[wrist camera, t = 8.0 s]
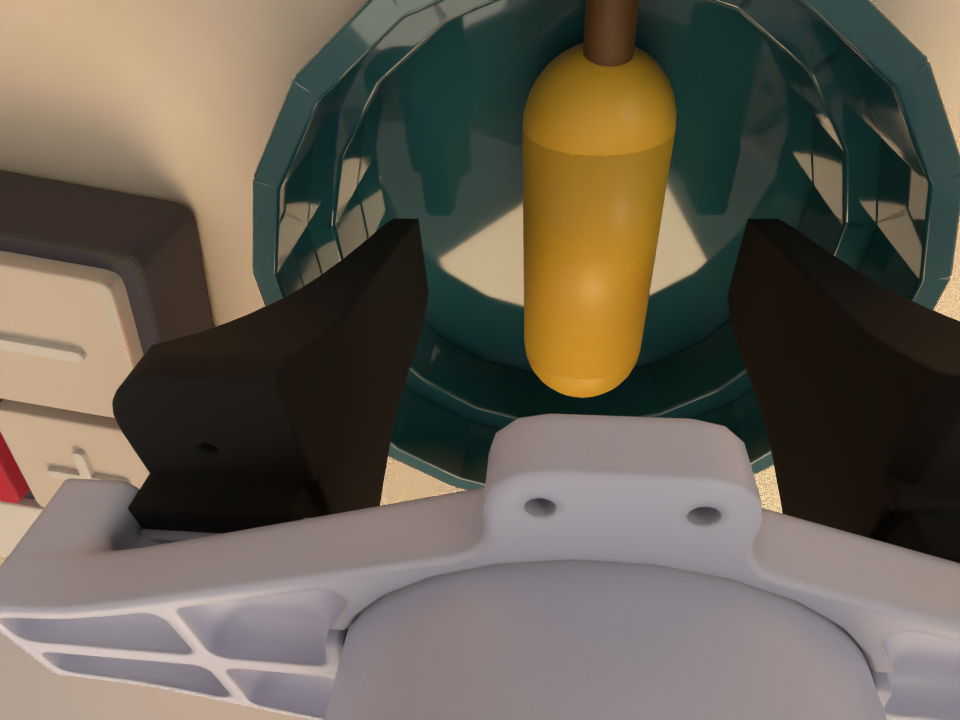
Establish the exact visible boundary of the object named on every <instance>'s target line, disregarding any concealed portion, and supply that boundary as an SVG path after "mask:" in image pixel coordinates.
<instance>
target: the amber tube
mask: <svg viewBox="0 0 960 720" xmlns="http://www.w3.org/2000/svg"><path fill="white" fill-rule="evenodd" d="M638 7H639V0H586V5H585V24H584V42H583V43H581V44H578V45H576V46H574V47H572V48H570V49H568V50H566V51H564V52H562V53H561V54H559V55H558V56H557V57H556V58H555V59H554V60H552V61H551V62H550V63H549V64H548V65H547V66H546V67H545V69H544V70H543V71H542V72H541V74H540V75H539V76H538V77H537V79H536V80H535V82H534V84H533V86H532V88H531V90H530V92H529V95H528V99H527V102H526V106H525V109H524V114H523V125H522V130H523V246H524V344H525V349H526V356H527V358H528V361H529V363H530V365H531V367H532V370H533V371H534V372H535V374H536V375H537V376H538V377H539V378H540V380H541V381H542V382H543V383H544V384H546V385H547V386H548V387H550V388H552V389H553V390H555V391H557V392H559V393H561V394H564V395H567V396H572V397H580V398H585V397H593V396H598V395H601V394H603V393H606V392H608V391H611V390H612V389H614V388H615V387H617V386H618V385H619V384H620V383H622V382H623V381H624V380H625V379H626V378H627V377H628V376H629V374H630V372H631V371H632V369H633V368H634V366H635V364H636V363H637V359H638V356H639V353H640V349H641V343H642V337H643V331H644V324H645V318H646V312H647V306H648V299H649V293H650V287H651V281H652V274H653V268H654V262H655V255H656V249H657V243H658V237H659V230H660V224H661V218H662V212H663V205H664V199H665V193H666V187H667V180H668V174H669V168H670V161H671V155H672V149H673V143H674V136H675V130H676V117H677V110H676V104H675V97H674V93H673V90H672V87H671V84H670V82H669V79H668V77H667V76H666V74H665V73H664V71H663V70H662V68H661V67H660V65H659V64H658V63H657V62H656V61H655V60H654V59H653V58H652V57H651V56H649V55H648V54H647V53H646V52H644V51H643V50H641V49H639V48H637V47H635V46H634V45H635V36H636V26H637V17H638Z"/></svg>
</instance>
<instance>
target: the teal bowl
mask: <svg viewBox="0 0 960 720" xmlns="http://www.w3.org/2000/svg"><path fill="white" fill-rule="evenodd" d="M585 5H586V0H368V1H367V2H366V3H365V4H364V5H363V6H362V7H361V8H360V9H359V10H358V11H357V12H356V13H355V14H354V15H353V16H352V17H351V18H350V19H349V20H348V21H347V22H346V23H345V24H344V25H343V26H342V28H341V29H340V30H339V31H338V32H337V33H336V34H335V35H334V36H333V37H332V38H331V39H330V40H329V41H328V42H327V43H326V44H325V45H324V46H323V47H322V48H321V49H320V50H319V51H318V52H317V53H316V54H315V55H314V56H313V57H312V58H311V59H310V60H309V62H308V63H307V64H306V65H305V66H304V67H303V68H302V69H301V70H300V71H299V72H298V73H297V74H296V76H295V78H294V79H293V80H292V83H291V85H290V88H289V90H288V92H287V95H286V97H285V100H284V102H283V105H282V107H281V110H280V112H279V115H278V117H277V119H276V122H275V124H274V127H273V129H272V132H271V134H270V137H269V139H268V142H267V144H266V147H265V149H264V151H263V154H262V156H261V159H260V161H259V164H258V166H257V169H256V171H255V174H254V179H253V270H254V271H253V273H254V276H255V279H256V282H257V284H258V287H259V290H260V293H261V295H262V298H263V301H264V304H265V306H268V305H270V304H272V303H274V302H276V301H278V300H280V299H282V298H284V297H286V296H288V295H290V294H291V293H293V292H295V291H297V290H298V289H300V288H302V287H303V286H305V285H307V284H308V283H310V282H311V281H313V280H314V279H316V278H317V277H319V276H320V275H322V274H323V273H324V272H326V271H327V270H329V269H330V268H331V267H333V266H334V265H335V264H337V263H338V262H339V261H341V260H342V259H344V258H345V257H346V256H347V255H349V254H350V253H351V252H352V251H354V250H355V249H356V248H357V247H358V246H360V245H361V244H362V243H363V242H364V241H366V240H367V239H368V238H369V237H370V236H372V235H373V234H374V233H375V232H376V231H377V230H379V229H380V228H381V227H382V226H384V225H385V224H386V223H387V222H389V221H390V220H392V219H419V225H420V232H421V240H422V247H423V254H424V262H425V269H426V277H427V284H428V291H429V294H428V300H427V307H426V313H425V319H424V324H423V329H422V332H421V335H420V338H419V342H418V345H417V348H416V351H415V354H414V357H413V360H412V363H411V366H410V369H409V373H408V376H407V379H406V382H405V385H404V388H403V391H402V394H401V397H400V401H399V404H398V408H397V412H396V416H395V421H394V426H393V431H392V437H391V442H390V447H389V453H388V456H389V457H391V458H393V459H395V460H397V461H399V462H402V463H404V464H406V465H408V466H410V467H412V468H415V469H417V470H419V471H421V472H423V473H425V474H427V475H430V476H432V477H434V478H436V479H438V480H440V481H442V482H445V483H447V484H449V485H451V486H455V487H456V488H460V489H464V490H473V489H479V488H485V484H486V475H487V466H488V457H489V451H490V448H491V445H492V442H493V440H494V437H495V434H496V432H498V431H500V430H501V429H503V428H504V427H506V426H507V425H509V424H510V423H512V422H513V421H515V420H516V419H518V418H523V417H530V416H537V415H543V414H574V415H602V416H630V417H658V418H686V419H695V420H700V421H704V422H709V423H713V424H718V425H722V426H725V427H727V428H728V429H729V430H730V431H731V432H732V433H734V434H735V435H736V436H737V437H738V438H739V439H741V440H742V441H743V442H744V443H745V447H746V450H747V454H748V457H749V461H750V464H751V468H752V471H753V475H754V474H757V473H759V472H760V471H764V470H765V469H767V468H769V467H771V466H772V465H774V462H773V458H772V453H771V448H770V444H769V439H768V435H767V430H766V426H765V423H764V419H763V416H762V413H761V409H760V407H759V404H758V401H757V398H756V396H755V393H754V390H753V387H752V384H751V382H750V379H749V376H748V373H747V371H746V368H745V365H744V362H743V359H742V357H741V354H740V351H739V348H738V345H737V342H736V339H735V336H734V333H733V328H732V323H731V318H730V312H729V306H728V299H727V295H728V291H729V288H730V284H731V280H732V276H733V272H734V269H735V265H736V261H737V257H738V254H739V250H740V246H741V242H742V239H743V235H744V231H745V227H746V223H747V220H748V219H779V220H781V221H783V222H785V223H787V224H788V225H790V226H791V227H793V228H794V229H796V230H797V231H799V232H800V233H802V234H803V235H805V236H806V237H808V238H809V239H811V240H812V241H814V242H815V243H816V244H818V245H819V246H821V247H822V248H824V249H825V250H827V251H828V252H830V253H831V254H833V255H834V256H836V257H837V258H838V259H840V260H842V261H843V262H845V263H846V264H848V265H849V266H851V267H852V268H854V269H856V270H857V271H859V272H860V273H862V274H864V275H865V276H867V277H869V278H871V279H872V280H874V281H876V282H877V283H879V284H881V285H883V286H884V287H886V288H888V289H890V290H892V291H894V292H895V293H897V294H899V295H901V296H903V297H906V298H908V299H910V300H912V301H914V302H916V303H918V304H920V305H922V306H924V307H926V308H928V309H931V310H934V308H935V306H936V304H937V302H938V300H939V299H940V297H941V295H942V293H943V291H944V290H945V288H946V286H947V284H948V282H949V281H950V276H951V275H952V268H953V261H954V253H955V246H956V238H957V231H958V223H959V216H960V153H959V150H958V147H957V144H956V141H955V138H954V135H953V132H952V129H951V126H950V123H949V120H948V117H947V113H946V110H945V107H944V104H943V101H942V98H941V95H940V92H939V89H938V86H937V83H936V80H935V77H934V74H933V71H932V67H931V64H930V62H928V61H927V57H926V56H925V55H924V54H923V53H922V52H921V51H920V50H919V49H918V48H917V47H916V46H915V45H914V44H913V43H912V42H911V41H910V40H909V39H908V38H907V37H906V36H905V35H904V34H903V33H902V32H901V31H900V30H899V29H898V28H897V27H896V26H895V25H894V24H893V23H892V22H891V21H890V20H889V19H888V18H887V17H886V16H885V15H884V14H883V13H882V12H881V11H880V10H879V9H878V8H877V7H876V6H875V5H874V4H873V3H872V2H871V1H870V0H639V7H638V17H637V26H636V36H635V45H634V46H635V47H637V48H639V49H641V50H643V51H644V52H646V53H647V54H648V55H649V56H651V57H652V58H653V59H654V60H655V61H656V62H657V63H658V64H659V65H660V67H661V68H662V70H663V71H664V73H665V74H666V76H667V77H668V79H669V82H670V84H671V87H672V90H673V93H674V97H675V104H676V110H677V117H676V130H675V136H674V143H673V149H672V155H671V161H670V168H669V174H668V180H667V187H666V193H665V199H664V205H663V212H662V218H661V224H660V230H659V237H658V243H657V249H656V255H655V262H654V268H653V274H652V281H651V287H650V293H649V299H648V306H647V312H646V318H645V324H644V331H643V337H642V343H641V349H640V353H639V356H638V359H637V363H636V364H635V366H634V368H633V369H632V371H631V372H630V374H629V376H628V377H627V378H626V379H625V380H624V381H623V382H622V383H620V384H619V385H618V386H617V387H615V388H614V389H612V390H611V391H608V392H606V393H603V394H601V395H598V396H593V397H585V398H580V397H572V396H567V395H564V394H561V393H559V392H557V391H555V390H553V389H552V388H550V387H548V386H547V385H546V384H544V383H543V382H542V381H541V380H540V378H539V377H538V376H537V375H536V374H535V372H534V371H533V370H532V367H531V365H530V363H529V361H528V358H527V356H526V349H525V344H524V246H523V130H522V125H523V114H524V109H525V106H526V102H527V99H528V95H529V92H530V90H531V88H532V86H533V84H534V82H535V80H536V79H537V77H538V76H539V75H540V74H541V72H542V71H543V70H544V69H545V67H546V66H547V65H548V64H549V63H550V62H551V61H552V60H554V59H555V58H556V57H557V56H558V55H559V54H561V53H562V52H564V51H566V50H568V49H570V48H572V47H574V46H576V45H578V44H581V43H583V42H584V24H585Z"/></svg>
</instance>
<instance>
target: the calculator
mask: <svg viewBox="0 0 960 720" xmlns="http://www.w3.org/2000/svg"><path fill="white" fill-rule="evenodd" d="M211 328H213V322H212V316H211V310H210V304H209V298H208V292H207V286H206V280H205V274H204V268H203V262H202V256H201V250H200V244H199V238H198V232H197V226H196V221H195V218H194V216H193V214H192V212H191V211H190V210H189V209H188V208H186V207H185V206H183V205H181V204H178V203H174V202H170V201H164V200H159V199H153V198H148V197H142V196H137V195H131V194H126V193H120V192H114V191H109V190H103V189H98V188H92V187H87V186H81V185H76V184H70V183H64V182H59V181H53V180H48V179H42V178H37V177H31V176H26V175H20V174H15V173H9V172H3V171H0V556H3V557H8V556H9V555H10V553H11V552H12V551H13V549H14V548H15V547H16V545H17V544H18V543H19V541H20V540H21V539H22V537H23V536H24V535H25V533H26V532H27V530H28V529H29V528H30V526H31V525H32V524H33V522H34V521H35V520H36V518H37V517H38V516H39V514H40V513H41V512H42V510H43V509H44V508H45V506H46V505H47V504H48V502H49V501H50V500H51V498H52V497H53V496H54V494H55V493H56V492H57V490H58V489H59V488H60V486H61V485H62V484H63V482H64V481H65V480H66V479H72V478H75V479H94V480H113V481H122V482H127V483H130V484H132V485H134V486H136V487H138V488H139V489H140V488H141V487H142V485H143V483H144V482H145V480H146V479H147V477H148V475H149V474H150V473H149V471H148V470H147V468H146V467H145V465H144V464H143V462H142V461H141V459H140V458H139V456H138V455H137V454H136V452H135V451H134V449H133V448H132V446H131V445H130V443H129V442H128V440H127V439H126V437H125V436H124V434H123V433H122V431H121V429H120V427H119V425H118V423H117V421H116V419H115V417H114V415H113V407H112V401H113V398H114V395H115V393H116V390H117V389H118V388H119V386H120V385H121V384H122V383H123V381H124V380H125V379H126V377H127V376H128V375H129V374H130V372H131V371H132V370H133V368H134V367H135V366H136V364H137V363H138V362H139V361H140V359H141V358H142V357H143V355H144V354H145V353H146V352H147V350H148V349H149V348H150V346H151V345H154V344H158V343H162V342H166V341H170V340H173V339H177V338H181V337H184V336H188V335H192V334H195V333H199V332H202V331H205V330H208V329H211Z"/></svg>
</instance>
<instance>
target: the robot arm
mask: <svg viewBox="0 0 960 720" xmlns="http://www.w3.org/2000/svg"><path fill="white" fill-rule="evenodd" d="M428 294H429V291H428V284H427V277H426V269H425V262H424V254H423V247H422V240H421V232H420V225H419V219H392V220H390V221H389V222H387V223H386V224H385V225H384V226H382V227H381V228H380V229H379V230H377V231H376V232H375V233H374V234H373V235H372V236H370V237H369V238H368V239H367V240H366V241H364V242H363V243H362V244H361V245H360V246H358V247H357V248H356V249H355V250H354V251H352V252H351V253H350V254H349V255H347V256H346V257H345V258H344V259H342V260H341V261H339V262H338V263H337V264H335V265H334V266H333V267H331V268H330V269H329V270H327V271H326V272H324V273H323V274H322V275H320V276H319V277H317V278H316V279H314V280H313V281H311V282H310V283H308V284H307V285H305V286H303V287H302V288H300V289H298V290H297V291H295V292H293V293H291V294H290V295H288V296H286V297H284V298H282V299H280V300H278V301H276V302H274V303H272V304H270V305H268V306H266V307H263V308H261V309H259V310H257V311H255V312H253V313H251V314H248V315H246V316H244V317H241V318H239V319H236V320H233V321H231V322H228V323H225V324H223V325H220V326H217V327H214V328H211V329H208V330H205V331H202V332H199V333H195V334H192V335H188V336H184V337H181V338H177V339H173V340H170V341H166V342H162V343H158V344H154V345H151V346H150V348H149V349H148V350H147V352H146V353H145V354H144V355H143V357H142V358H141V359H140V361H139V362H138V363H137V364H136V366H135V367H134V368H133V370H132V371H131V372H130V374H129V375H128V376H127V377H126V379H125V380H124V381H123V383H122V384H121V385H120V386H119V388H118V389H117V390H116V393H115V395H114V398H113V401H112V407H113V415H114V417H115V419H116V421H117V423H118V425H119V427H120V429H121V431H122V433H123V434H124V436H125V437H126V439H127V440H128V442H129V443H130V445H131V446H132V448H133V449H134V451H135V452H136V454H137V455H138V456H139V458H140V459H141V461H142V462H143V464H144V465H145V467H146V468H147V470H148V471H149V473H150V474H149V475H148V477H147V479H146V480H145V482H144V483H143V485H142V487H141V488H140V489H139V488H138V487H136V486H134V485H132V484H130V483H127V482H122V481H113V480H94V479H75V478H72V479H66V480H65V481H64V482H63V484H62V485H61V486H60V488H59V489H58V490H57V492H56V493H55V494H54V496H53V497H52V498H51V500H50V501H49V502H48V504H47V505H46V506H45V508H44V509H43V510H42V512H41V513H40V514H39V516H38V517H37V518H36V520H35V521H34V522H33V524H32V525H31V526H30V528H29V529H28V530H27V532H26V533H25V535H24V536H23V537H22V539H21V540H20V541H19V543H18V544H17V545H16V547H15V548H14V549H13V551H12V552H11V553H10V555H9V556H8V557H7V559H6V560H5V561H4V563H3V564H2V565H1V567H0V632H1V633H2V634H4V635H5V636H6V637H7V638H9V639H10V640H11V641H13V642H14V643H15V644H17V645H18V646H19V647H21V648H22V649H23V650H24V651H26V652H27V653H28V654H30V655H31V656H32V657H34V658H35V659H36V660H38V661H39V662H40V663H41V664H43V665H44V666H45V667H47V668H48V669H49V670H51V671H52V672H53V673H55V674H57V675H66V676H74V677H84V678H92V679H101V680H110V681H116V682H122V683H129V684H135V685H142V686H148V687H154V688H159V689H165V690H170V691H175V692H180V693H185V694H190V695H195V696H201V697H205V698H210V699H215V700H220V701H224V702H229V703H234V704H239V705H243V706H248V707H253V708H258V709H262V710H267V711H272V712H277V713H281V714H286V715H291V716H296V717H300V718H305V719H310V720H960V321H957V320H955V319H952V318H950V317H947V316H945V315H942V314H940V313H938V312H935V311H933V310H931V309H928V308H926V307H924V306H922V305H920V304H918V303H916V302H914V301H912V300H910V299H908V298H906V297H903V296H901V295H899V294H897V293H895V292H894V291H892V290H890V289H888V288H886V287H884V286H883V285H881V284H879V283H877V282H876V281H874V280H872V279H871V278H869V277H867V276H865V275H864V274H862V273H860V272H859V271H857V270H856V269H854V268H852V267H851V266H849V265H848V264H846V263H845V262H843V261H842V260H840V259H838V258H837V257H836V256H834V255H833V254H831V253H830V252H828V251H827V250H825V249H824V248H822V247H821V246H819V245H818V244H816V243H815V242H814V241H812V240H811V239H809V238H808V237H806V236H805V235H803V234H802V233H800V232H799V231H797V230H796V229H794V228H793V227H791V226H790V225H788V224H787V223H785V222H783V221H781V220H779V219H748V220H747V223H746V227H745V231H744V235H743V239H742V242H741V246H740V250H739V254H738V257H737V261H736V265H735V269H734V272H733V276H732V280H731V284H730V288H729V291H728V295H727V299H728V306H729V312H730V318H731V323H732V328H733V333H734V336H735V339H736V342H737V345H738V348H739V351H740V354H741V357H742V359H743V362H744V365H745V368H746V371H747V373H748V376H749V379H750V382H751V384H752V387H753V390H754V393H755V396H756V398H757V401H758V404H759V407H760V409H761V413H762V416H763V419H764V423H765V426H766V430H767V435H768V439H769V444H770V448H771V453H772V458H773V462H774V467H775V473H776V478H777V483H778V489H779V494H780V499H781V505H782V512H783V514H781V513H778V512H774V511H771V510H767V509H764V508H762V506H761V499H760V495H759V492H758V488H757V485H756V481H755V478H754V475H753V471H752V468H751V464H750V461H749V457H748V454H747V450H746V447H745V443H744V442H743V441H742V440H741V439H739V438H738V437H737V436H736V435H735V434H734V433H732V432H731V431H730V430H729V429H728V428H727V427H725V426H722V425H718V424H713V423H709V422H704V421H700V420H695V419H686V418H658V417H630V416H602V415H574V414H543V415H537V416H530V417H523V418H518V419H516V420H515V421H513V422H512V423H510V424H509V425H507V426H506V427H504V428H503V429H501V430H500V431H498V432H496V434H495V437H494V440H493V442H492V445H491V448H490V451H489V457H488V466H487V475H486V484H485V488H479V489H473V490H468V491H462V492H456V493H451V494H445V495H439V496H433V497H428V498H422V499H416V500H411V501H405V502H399V503H394V504H388V505H382V506H380V501H381V494H382V487H383V481H384V475H385V470H386V464H387V458H388V453H389V447H390V442H391V437H392V431H393V426H394V421H395V416H396V412H397V408H398V404H399V401H400V397H401V394H402V391H403V388H404V385H405V382H406V379H407V376H408V373H409V369H410V366H411V363H412V360H413V357H414V354H415V351H416V348H417V345H418V342H419V338H420V335H421V332H422V329H423V324H424V319H425V313H426V307H427V300H428Z"/></svg>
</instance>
